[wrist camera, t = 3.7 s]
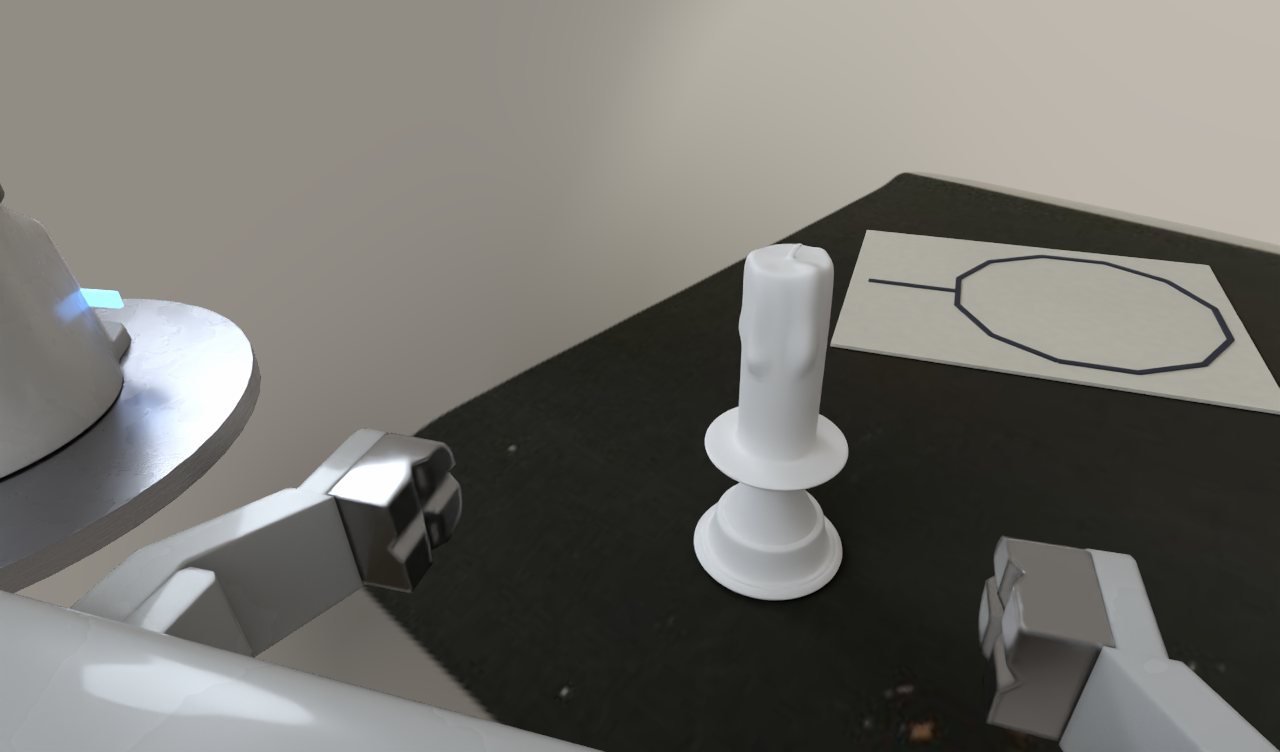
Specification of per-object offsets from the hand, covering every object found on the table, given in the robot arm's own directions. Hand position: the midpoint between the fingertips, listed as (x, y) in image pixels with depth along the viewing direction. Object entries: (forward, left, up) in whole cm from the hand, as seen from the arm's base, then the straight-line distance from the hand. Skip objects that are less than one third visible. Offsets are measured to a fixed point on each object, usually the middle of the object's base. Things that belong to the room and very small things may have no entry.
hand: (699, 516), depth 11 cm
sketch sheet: (+9, +35, -13) cm, 38 cm away
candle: (-1, +12, -13) cm, 18 cm away
